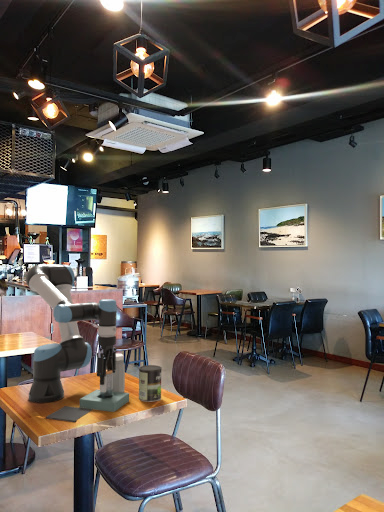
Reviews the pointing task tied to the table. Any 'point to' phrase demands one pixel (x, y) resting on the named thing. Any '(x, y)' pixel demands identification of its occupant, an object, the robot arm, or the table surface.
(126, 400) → the block
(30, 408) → the table surface
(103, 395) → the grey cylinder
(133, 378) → the table surface
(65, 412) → the mat
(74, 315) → the robot arm
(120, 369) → the jar
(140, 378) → the coffee can
